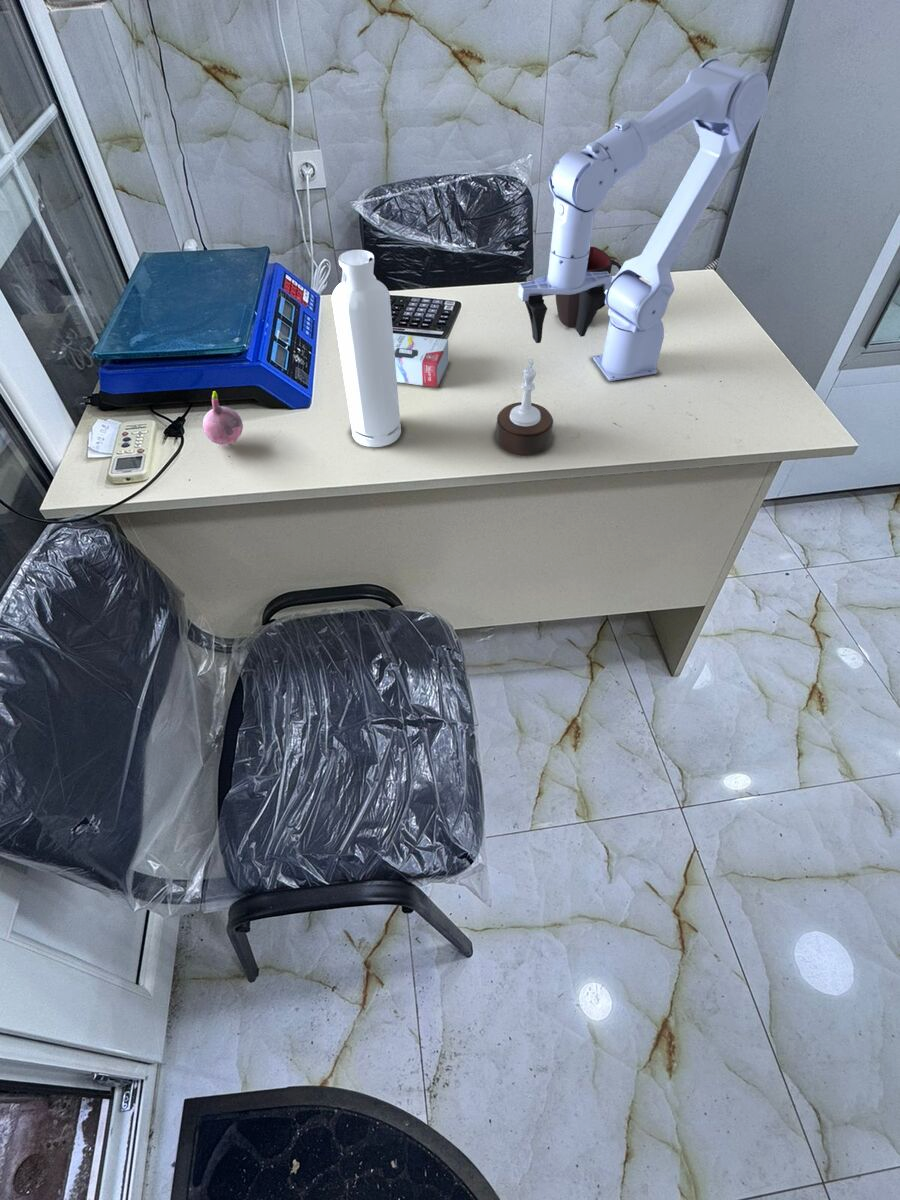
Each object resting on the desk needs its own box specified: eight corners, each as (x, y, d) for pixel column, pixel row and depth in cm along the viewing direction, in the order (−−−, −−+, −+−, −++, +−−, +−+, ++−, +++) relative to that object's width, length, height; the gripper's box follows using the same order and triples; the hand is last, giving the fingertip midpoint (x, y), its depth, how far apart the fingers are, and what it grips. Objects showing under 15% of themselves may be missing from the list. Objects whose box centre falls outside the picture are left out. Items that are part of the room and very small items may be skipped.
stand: (539, 417, 109) (542, 397, 106) (558, 450, 104) (561, 429, 101) (489, 426, 108) (490, 405, 105) (505, 459, 102) (507, 439, 99)
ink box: (437, 364, 111) (372, 356, 112) (437, 389, 115) (374, 380, 116) (448, 338, 116) (386, 330, 118) (448, 362, 120) (388, 355, 121)
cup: (542, 311, 131) (549, 250, 122) (605, 302, 133) (616, 241, 124) (560, 336, 125) (568, 273, 116) (625, 326, 127) (639, 264, 118)
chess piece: (544, 412, 103) (551, 355, 96) (534, 429, 101) (541, 372, 93) (515, 405, 105) (520, 348, 97) (505, 422, 102) (509, 365, 94)
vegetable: (234, 461, 103) (215, 407, 95) (202, 451, 104) (181, 398, 96) (255, 439, 106) (239, 385, 98) (225, 430, 108) (206, 376, 100)
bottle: (406, 442, 105) (393, 266, 83) (357, 451, 104) (331, 275, 82) (394, 413, 110) (379, 240, 88) (348, 422, 109) (320, 248, 87)
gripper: (604, 233, 98) (590, 318, 109) (514, 244, 96) (508, 330, 107) (624, 252, 94) (607, 339, 105) (530, 265, 92) (522, 352, 103)
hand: (558, 336), depth 106 cm, fingers open, 7 cm apart
